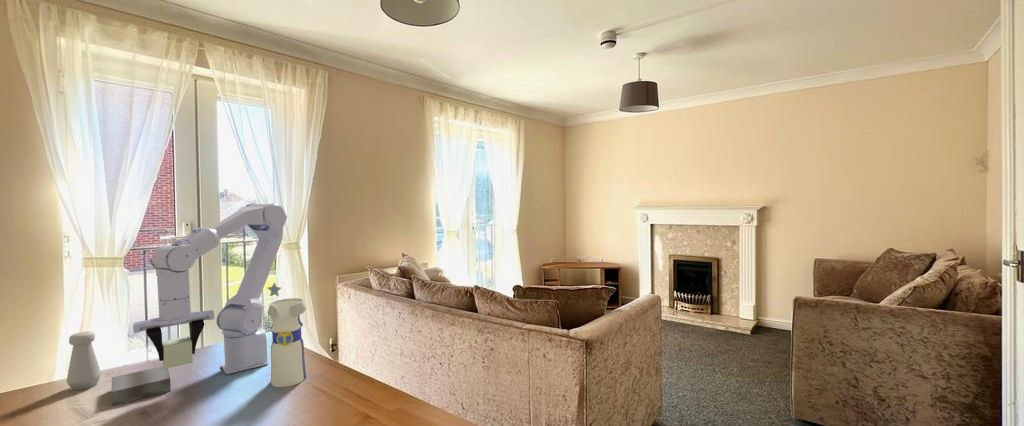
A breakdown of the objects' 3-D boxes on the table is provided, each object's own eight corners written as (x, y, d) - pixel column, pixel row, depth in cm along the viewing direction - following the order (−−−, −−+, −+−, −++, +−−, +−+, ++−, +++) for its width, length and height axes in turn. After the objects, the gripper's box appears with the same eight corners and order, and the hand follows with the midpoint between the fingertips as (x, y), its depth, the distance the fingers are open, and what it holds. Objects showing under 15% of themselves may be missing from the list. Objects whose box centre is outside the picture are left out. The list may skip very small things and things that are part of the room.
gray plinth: (167, 377, 107) (166, 365, 107) (170, 390, 100) (170, 378, 99) (112, 389, 100) (112, 377, 100) (112, 405, 93) (111, 391, 93)
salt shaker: (79, 393, 99) (76, 337, 98) (60, 391, 100) (56, 336, 99) (108, 382, 104) (105, 329, 104) (89, 380, 105) (86, 328, 105)
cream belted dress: (306, 384, 102) (303, 280, 101) (266, 390, 99) (262, 283, 98) (310, 370, 110) (307, 274, 109) (273, 375, 107) (269, 277, 106)
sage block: (189, 356, 102) (188, 336, 102) (192, 362, 98) (191, 341, 98) (162, 362, 99) (161, 341, 98) (164, 368, 95) (163, 346, 95)
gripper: (132, 307, 90) (136, 370, 91) (215, 295, 100) (218, 352, 100) (131, 301, 95) (134, 361, 96) (210, 290, 105) (212, 344, 106)
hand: (177, 356), depth 98 cm, fingers closed on sage block, 5 cm apart
